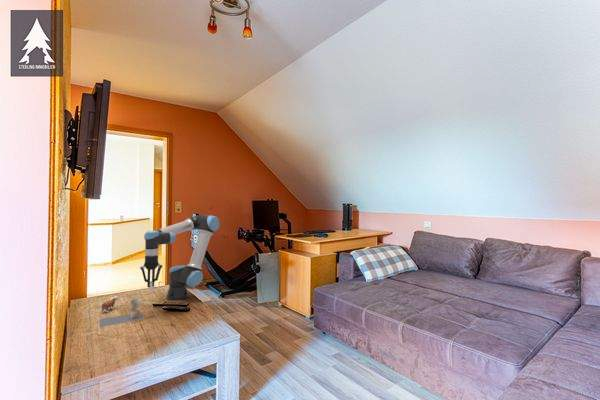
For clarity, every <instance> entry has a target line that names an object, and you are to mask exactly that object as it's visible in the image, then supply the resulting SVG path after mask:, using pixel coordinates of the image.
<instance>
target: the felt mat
mask: <svg viewBox="0 0 600 400" xmlns="http://www.w3.org/2000/svg"><path fill="white" fill-rule="evenodd" d="M143 317H144V316H143V315H142V312H141V311H140V317H139V318H134V319H130V313H128V314H127V313H126V314H123V315H121V314H120V315H116V316H110V317H105V318H100V319H99V328H103V327H108V326H114V325H119V324H124V323H125V324H126V323H130V322H131V323H132V322H137V321H141V320H144V318H143Z"/></svg>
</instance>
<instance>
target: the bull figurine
mask: <svg viewBox="0 0 600 400" xmlns="http://www.w3.org/2000/svg"><path fill="white" fill-rule="evenodd" d="M119 300H120V299H119V297H118V296H116V295H115V296H113V297H111V298H110V299H108V300H107V301H105V302H103V303H102V304H101V314H104V311H105V312H106V313H107V314H109V313H110V311H109V310H112V311H113V310H114V306H115V303H116V301H119Z"/></svg>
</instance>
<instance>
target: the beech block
mask: <svg viewBox="0 0 600 400" xmlns="http://www.w3.org/2000/svg"><path fill="white" fill-rule="evenodd" d="M140 306H141V300H140V298H134V299H132V298H131V299H130V300H129V314H130V319H134V318H139V317H140V312H141V310H140V309H141V307H140Z"/></svg>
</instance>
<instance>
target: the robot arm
mask: <svg viewBox="0 0 600 400" xmlns="http://www.w3.org/2000/svg"><path fill="white" fill-rule="evenodd" d="M219 229H220V220H219V218H218V217H217V216H216V215H215V216H214V215H212V214H211V215H208V214H207V215H206V214H198V215H195V216H192V217H191V216H190V217H189V218H186V219H185V220H183V221H180V222H177V223H175V224H171V225H168V226H165V227H163V228H159V229H156V230H147V231H146V232H145V233H144V235H143V236H144V237H143V238H144V240H145V241H144V243H145V244H144V245H145V246H144V247H145V249H144V255H145V256H144V263H143V265H141V266H140V267H139V269H140V270H141V273H142V276H143V281H144V282H145V283H147V288H148V293H150V294H151V293H153V288H154V287H155V282H156V281H157V282H158V279H159V276H160V272H161V270H162V268H163V265H162V264H160V263H159V246H160V245H167V244H168V245H171V244H173V243H174V242H175V241H176V235H178V234H181V233H184V232H187V231H193V230H198V232H199V234H198V236H197V239H196V243H195V246H194V248H193V251H192V255H191V257H190V261H189V262H188V264H185V265H183V264H182V265H176V266H172V267H170V268H169V272H168V273H169V275H168V277H169V278H168V279H169V280H168V284H169V285H168V286H169V287H168V290H167V293H166V300H169V301H178V300H179V301H180V300H184V299H186V298H188V297H189V291H188V287H190V288H191V287H193V288H194V287H197V286H199V285H200V284H201V283H202V281H203V279H204V275H203V274H204V273H203V272H202V271H203V268H202V263H203V261H204V257H205V256H206V252H207V248H208V245H209V243H210V240H211V237H212V236H214V233H215V232H216V231H218V230H219ZM145 269H146V270H147V276H146V273H145V272H146V271H145ZM156 269H157V271H156ZM155 272H156V274H155Z"/></svg>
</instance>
